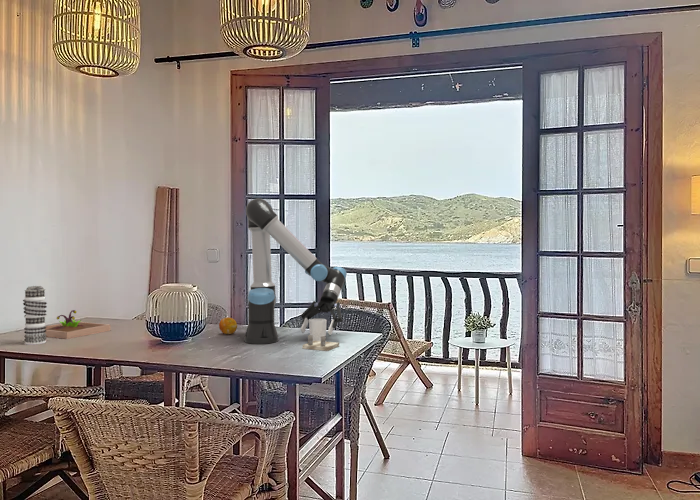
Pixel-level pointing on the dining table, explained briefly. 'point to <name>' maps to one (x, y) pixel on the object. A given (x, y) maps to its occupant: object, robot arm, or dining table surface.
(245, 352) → the dining table surface
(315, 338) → the white cup
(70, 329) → the plant
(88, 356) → the dining table surface
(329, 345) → the board
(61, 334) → the planter tray
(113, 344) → the dining table surface
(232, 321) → the fruit
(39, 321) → the decorative candle
